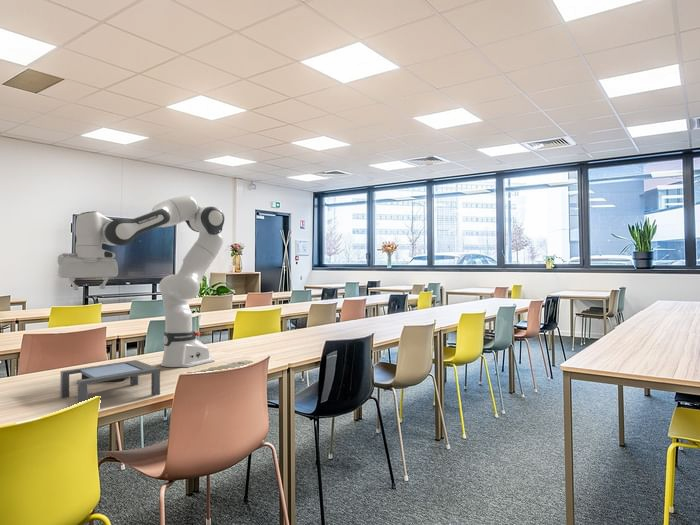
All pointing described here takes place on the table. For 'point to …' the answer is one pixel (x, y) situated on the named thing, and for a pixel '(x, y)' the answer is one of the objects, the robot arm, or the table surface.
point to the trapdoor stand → (111, 378)
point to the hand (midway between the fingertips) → (89, 289)
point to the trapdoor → (108, 370)
